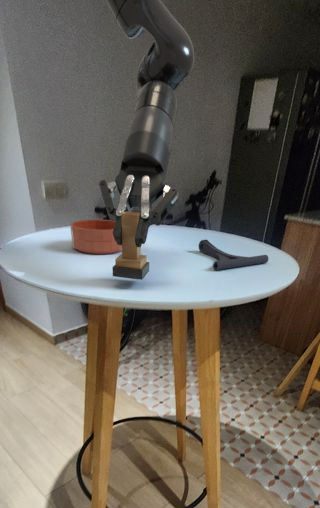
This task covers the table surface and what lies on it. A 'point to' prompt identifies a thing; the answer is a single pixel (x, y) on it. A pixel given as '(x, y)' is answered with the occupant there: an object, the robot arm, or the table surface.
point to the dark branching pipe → (229, 257)
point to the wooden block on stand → (130, 250)
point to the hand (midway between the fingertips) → (128, 242)
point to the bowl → (94, 236)
